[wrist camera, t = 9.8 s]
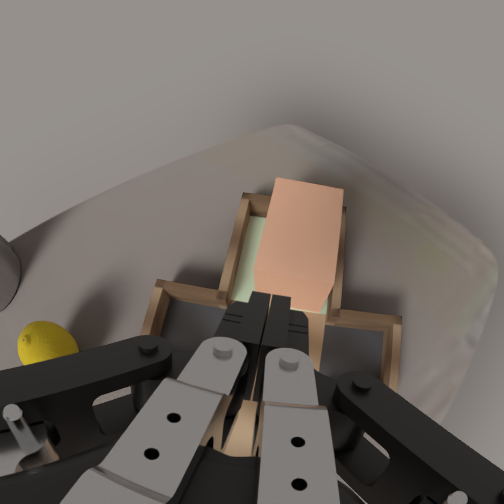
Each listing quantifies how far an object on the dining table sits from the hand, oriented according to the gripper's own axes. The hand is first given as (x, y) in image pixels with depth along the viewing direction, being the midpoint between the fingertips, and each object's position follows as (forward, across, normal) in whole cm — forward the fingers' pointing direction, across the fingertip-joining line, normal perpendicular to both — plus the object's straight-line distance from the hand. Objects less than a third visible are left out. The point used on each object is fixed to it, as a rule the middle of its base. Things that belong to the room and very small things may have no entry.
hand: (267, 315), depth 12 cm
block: (+19, -1, +4) cm, 20 cm away
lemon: (+9, +19, +15) cm, 26 cm away
